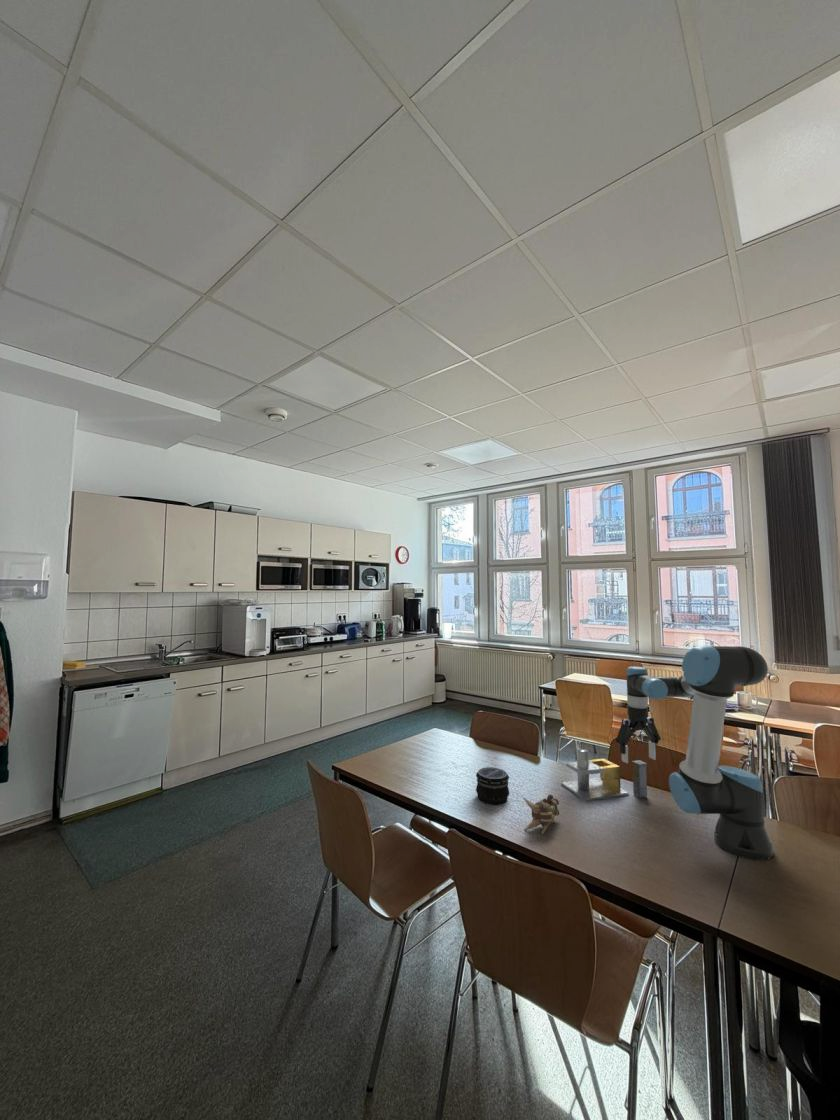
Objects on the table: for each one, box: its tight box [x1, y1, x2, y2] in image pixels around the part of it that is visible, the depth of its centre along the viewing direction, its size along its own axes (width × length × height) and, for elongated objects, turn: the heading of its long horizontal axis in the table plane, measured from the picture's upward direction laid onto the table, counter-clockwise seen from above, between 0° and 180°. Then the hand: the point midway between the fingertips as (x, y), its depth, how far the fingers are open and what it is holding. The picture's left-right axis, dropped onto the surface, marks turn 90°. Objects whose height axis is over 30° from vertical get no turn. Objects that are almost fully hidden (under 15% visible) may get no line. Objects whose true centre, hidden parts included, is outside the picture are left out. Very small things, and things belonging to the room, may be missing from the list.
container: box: [475, 766, 510, 806], centre depth 174 cm, size 13×13×10 cm
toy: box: [522, 794, 560, 835], centre depth 153 cm, size 11×8×15 cm
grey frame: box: [560, 748, 629, 802], centre depth 184 cm, size 16×20×16 cm
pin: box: [631, 759, 648, 799], centre depth 178 cm, size 4×4×13 cm
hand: (638, 760), depth 179 cm, fingers open, 13 cm apart
